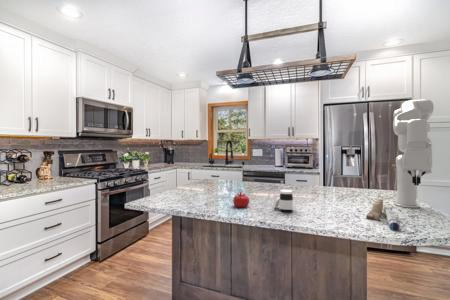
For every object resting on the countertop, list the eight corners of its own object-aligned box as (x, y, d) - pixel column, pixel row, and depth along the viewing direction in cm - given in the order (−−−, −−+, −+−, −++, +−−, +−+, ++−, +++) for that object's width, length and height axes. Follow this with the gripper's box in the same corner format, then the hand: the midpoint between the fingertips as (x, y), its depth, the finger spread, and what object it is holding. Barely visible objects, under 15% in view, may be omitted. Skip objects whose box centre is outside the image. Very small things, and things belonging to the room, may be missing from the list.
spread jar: (293, 213, 134) (293, 192, 134) (272, 212, 137) (272, 191, 137) (292, 207, 146) (292, 188, 146) (273, 206, 149) (273, 188, 148)
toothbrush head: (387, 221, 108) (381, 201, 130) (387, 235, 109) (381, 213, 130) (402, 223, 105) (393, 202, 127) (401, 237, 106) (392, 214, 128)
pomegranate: (251, 208, 147) (251, 193, 147) (236, 209, 144) (236, 193, 144) (245, 203, 156) (245, 189, 156) (231, 204, 154) (231, 190, 153)
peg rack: (371, 211, 136) (371, 197, 135) (383, 213, 132) (383, 199, 132) (366, 218, 123) (366, 203, 123) (378, 220, 120) (378, 204, 120)
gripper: (437, 145, 110) (437, 185, 111) (397, 145, 120) (397, 182, 120) (438, 146, 104) (437, 188, 105) (396, 146, 114) (396, 184, 115)
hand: (416, 184), depth 113 cm, fingers closed
